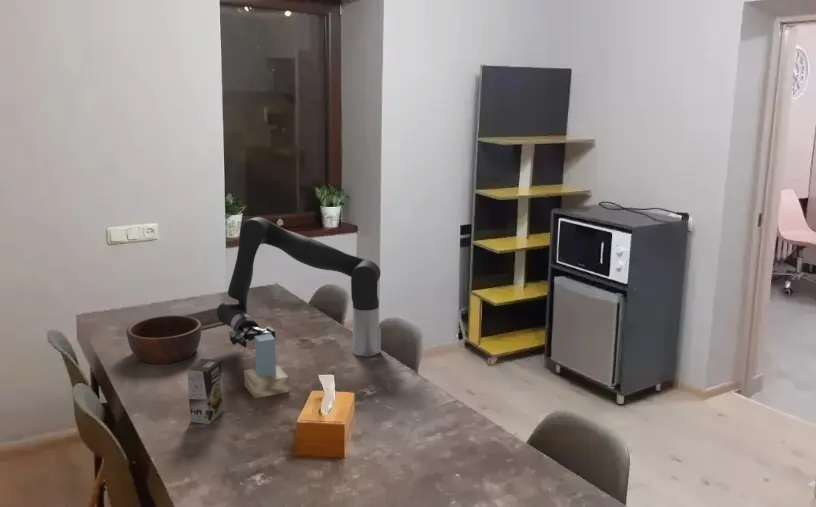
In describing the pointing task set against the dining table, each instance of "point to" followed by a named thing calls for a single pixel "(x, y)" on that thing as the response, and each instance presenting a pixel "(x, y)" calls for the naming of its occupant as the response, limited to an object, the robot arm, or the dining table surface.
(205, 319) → the hardcover book
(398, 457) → the dining table surface
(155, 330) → the wooden bowl
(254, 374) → the birch block
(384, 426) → the dining table surface
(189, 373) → the coffee box
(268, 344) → the blue pillar
